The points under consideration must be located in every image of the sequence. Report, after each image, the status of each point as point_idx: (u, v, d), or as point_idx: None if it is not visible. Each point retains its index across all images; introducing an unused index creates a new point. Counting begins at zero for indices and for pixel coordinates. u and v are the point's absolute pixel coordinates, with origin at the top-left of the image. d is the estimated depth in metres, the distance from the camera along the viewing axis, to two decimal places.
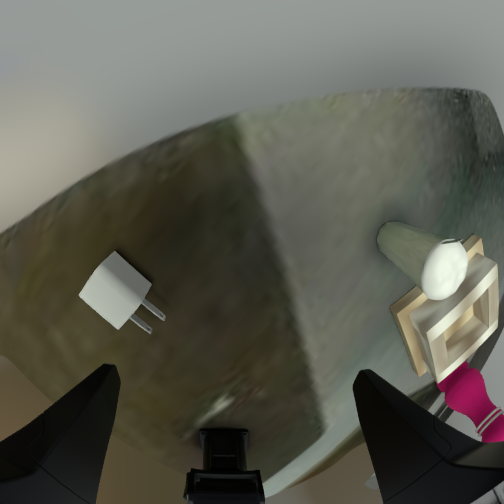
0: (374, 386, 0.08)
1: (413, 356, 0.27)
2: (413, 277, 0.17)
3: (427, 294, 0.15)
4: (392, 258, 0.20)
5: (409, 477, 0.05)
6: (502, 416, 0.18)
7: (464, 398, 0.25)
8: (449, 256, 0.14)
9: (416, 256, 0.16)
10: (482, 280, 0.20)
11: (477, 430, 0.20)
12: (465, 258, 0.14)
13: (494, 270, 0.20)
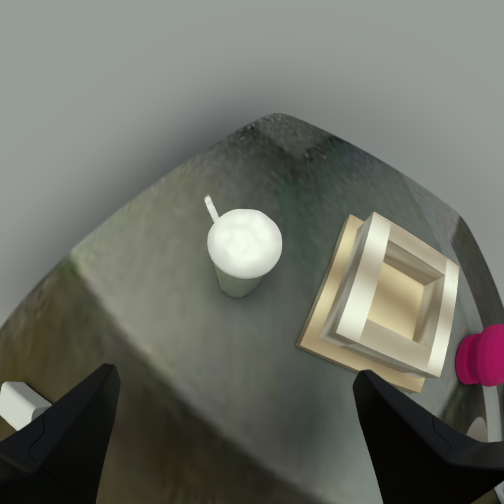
0: (374, 386, 0.08)
1: None
2: (223, 275, 0.17)
3: (234, 273, 0.15)
4: (227, 287, 0.21)
5: (409, 477, 0.05)
6: None
7: (499, 360, 0.16)
8: (225, 223, 0.16)
9: None
10: (368, 237, 0.21)
11: None
12: (254, 213, 0.16)
13: (377, 219, 0.22)
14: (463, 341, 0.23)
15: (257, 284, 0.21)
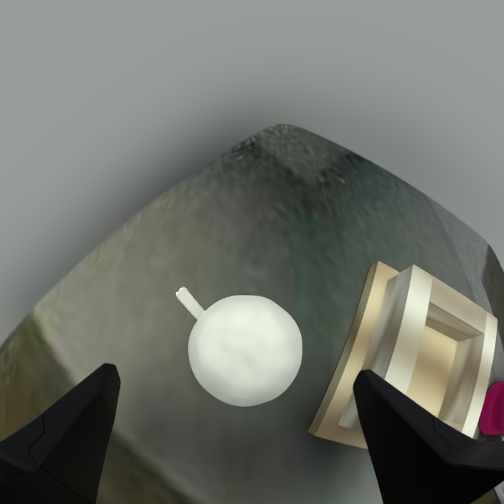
0: (374, 386, 0.08)
1: None
2: None
3: (230, 403, 0.09)
4: None
5: (409, 477, 0.05)
6: None
7: None
8: (214, 326, 0.10)
9: None
10: (407, 303, 0.15)
11: None
12: (260, 308, 0.10)
13: (417, 275, 0.16)
14: (489, 392, 0.17)
15: None
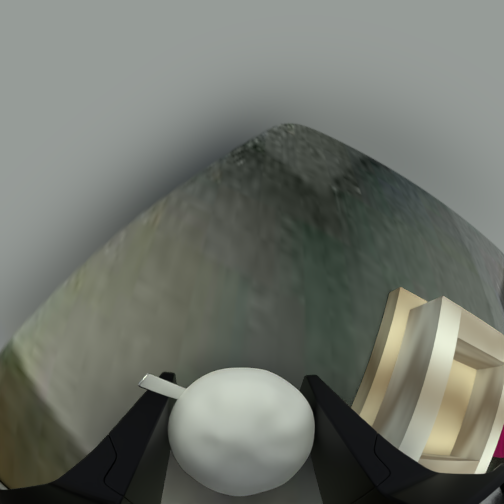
0: (315, 394, 0.07)
1: None
2: None
3: (222, 493, 0.06)
4: None
5: (348, 497, 0.05)
6: None
7: None
8: (198, 414, 0.06)
9: None
10: (436, 342, 0.12)
11: None
12: (259, 391, 0.07)
13: (447, 308, 0.13)
14: None
15: None
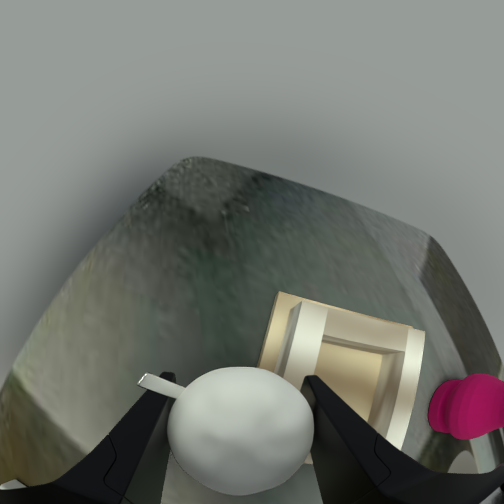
0: (315, 394, 0.07)
1: None
2: None
3: None
4: None
5: (348, 498, 0.05)
6: None
7: (473, 423, 0.14)
8: (197, 414, 0.06)
9: None
10: (294, 340, 0.17)
11: None
12: (258, 391, 0.07)
13: (307, 310, 0.18)
14: (437, 392, 0.21)
15: None
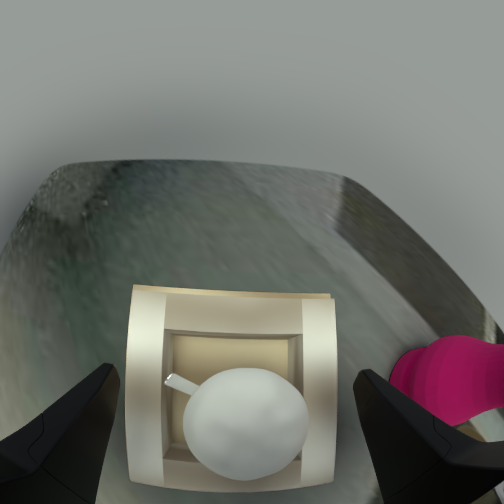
0: (374, 386, 0.08)
1: None
2: None
3: (230, 478, 0.07)
4: None
5: (409, 476, 0.05)
6: None
7: (450, 410, 0.11)
8: (211, 408, 0.08)
9: None
10: (130, 341, 0.13)
11: None
12: (263, 387, 0.08)
13: (140, 301, 0.14)
14: (395, 370, 0.18)
15: None
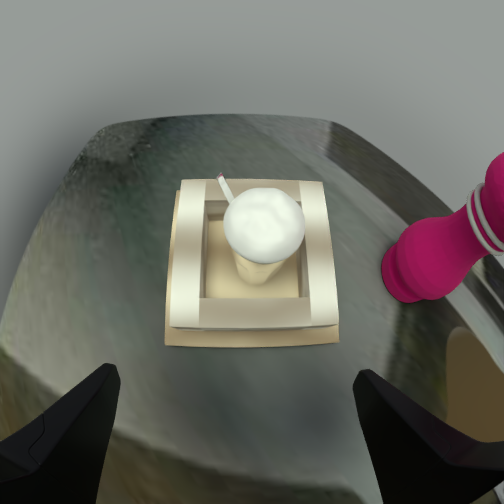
0: (374, 386, 0.08)
1: (272, 344, 0.20)
2: (242, 261, 0.16)
3: (255, 258, 0.14)
4: (246, 275, 0.19)
5: (409, 477, 0.05)
6: (484, 186, 0.12)
7: (429, 267, 0.17)
8: (242, 203, 0.15)
9: None
10: (179, 211, 0.20)
11: (496, 251, 0.12)
12: (272, 191, 0.15)
13: (187, 186, 0.21)
14: (384, 257, 0.24)
15: None
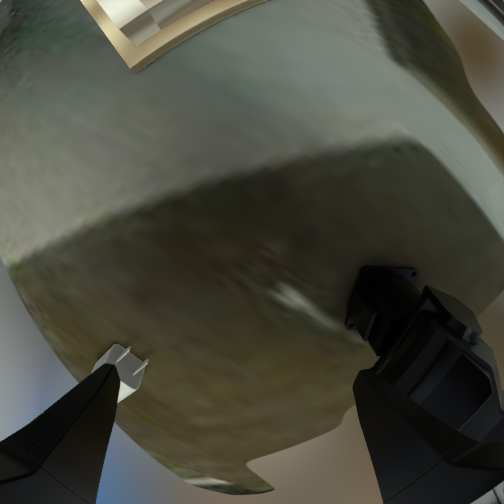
0: (374, 386, 0.08)
1: (234, 4, 0.12)
2: None
3: None
4: None
5: (409, 476, 0.05)
6: None
7: None
8: None
9: None
10: None
11: None
12: None
13: None
14: None
15: None
